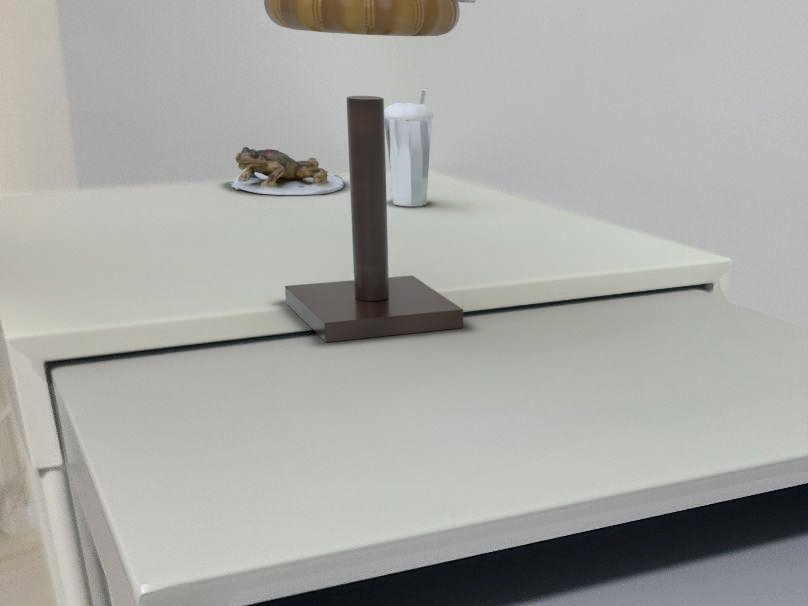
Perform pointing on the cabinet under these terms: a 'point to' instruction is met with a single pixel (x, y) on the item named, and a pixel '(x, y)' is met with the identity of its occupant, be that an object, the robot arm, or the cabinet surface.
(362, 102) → the post
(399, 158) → the milkshake
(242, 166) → the frog figurine
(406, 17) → the ring
